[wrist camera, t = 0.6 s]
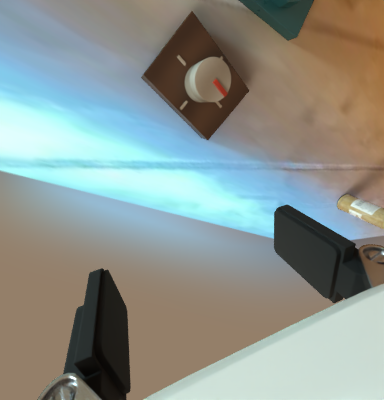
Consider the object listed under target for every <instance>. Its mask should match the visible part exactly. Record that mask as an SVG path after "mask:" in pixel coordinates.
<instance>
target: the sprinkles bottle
mask: <svg viewBox="0 0 384 400" xmlns="http://www.w3.org/2000/svg"><path fill="white" fill-rule="evenodd" d="M337 207H338V209H340V210H343V211H345V212H347V213H349V214H351V215H353V216H355V217H358V218H360V219H362V220H364V221H366V222H368V223H371V224H373V225H375V226H378V227H380V228H382V229H384V208H382V207H380V206H377V205H374V204H372V203H369V202H367V201H364V200H361V199H358V198H355V197H352V196H351V195H349V194H346V195H344V196H342V197H341V198H340V199H339V201H338V204H337Z"/></svg>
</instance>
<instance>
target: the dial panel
mask: <svg viewBox="0 0 384 400" xmlns="http://www.w3.org/2000/svg"><path fill="white" fill-rule="evenodd" d="M208 57H218V58H220V59H222V60H223V61H224V62H225V63H226V64H227V66H228V68H229V70H230V73H231V85H230V88H229V91H228V94H227V95H226V96H225V97H224V98H223V99H221V100H219V101H217V102H202V103H201V102H196V101H194V100H192V99H191V98H190V97H189V95H188V94H187V92H186V89H185V77H186V74H187V72H188V70H189V69H190V68H191V67H192V66H193V65H195V64H196V63H198V62H200V61H202V60H204V59H206V58H208ZM141 78H142V79H143V80H144V81H145V82H146V83H147V84H148V85H149V86H150V87H151V88H152V89H153V90H154V91H155V92H156V93H157V94H158V95H159V96H160V97H161V98H162V99H163V100H164V101H165V102H166V103H167V104H168V105H169V106H170V107H171V108H172V109H173V110H174V111H175V112H176V113H177V114H178V115H179V116H180V117H181V118H182V119H183V120H184V121H185V122H186V123H187V124H188V125H189V126H190V127H191V128H192V129H193V130H194V131H195V132H196V133H197V134H198V135H199V136H200V137H201V138H203V139H206V140H208V139H209V138H210V137H211V136H212V135H213V133H214V132H215V131H216V130H217V129H218V128H219V126H220V125H221V124H222V123H223V122H224V120H225V119H226V118H227V117H228V116H229V114H230V113H231V112H232V111H233V110H234V108H235V107H236V106H237V105H238V104H239V102H240V101H241V100H242V99H243V98H244V96H245V95H246V94H247V93H248V92H249V89H248V88H247V87H246V85H245V84H244V82H243V81H242V80H241V78H240V77H239V75H238V74H237V73H236V71H235V70H234V69H233V67H232V66H231V64H230V63H229V62H228V60H227V59H226V57H225V56H224V55H223V53H222V52H221V50H220V49H219V48H218V46H217V45H216V43H215V42H214V41H213V39H212V38H211V36H210V35H209V34H208V32H207V31H206V30H205V28H204V27H203V25H202V24H201V23H200V21H199V20H198V18H197V17H196V16H195V14H194V13H193V11H191V13H190V14H189V15H188V17H187V18H186V19H185V20H184V22H183V23H182V24H181V26H180V27H179V28H178V30H177V31H176V32H175V34H174V35H173V36H172V38H171V39H170V40H169V41H168V43H167V44H166V45H165V47H164V48H163V49H162V51H161V52H160V53H159V55H158V56H157V57H156V59H155V60H154V61H153V63H152V64H151V65H150V66H149V68H148V69H147V70H146V72H145V73H144V74H143V76H142V77H141Z"/></svg>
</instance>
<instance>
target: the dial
mask: <svg viewBox="0 0 384 400" xmlns="http://www.w3.org/2000/svg"><path fill="white" fill-rule="evenodd" d="M230 85H231V73H230V70H229V68H228V66H227V64H226V63H225V62H224V61H223V60H222V59H220V58H218V57H208V58H206V59H204V60H202V61H200V62H198V63H196V64H195V65H193V66H192V67H191V68H190V69H189V70H188V72H187V74H186V77H185V89H186V92H187V94H188V95H189V97H190V98H191V99H192V100H194V101H196V102H201V103H202V102H217V101H219V100H221V99H223V98H224V97H225V96H226V95H227V94H228V91H229V88H230Z"/></svg>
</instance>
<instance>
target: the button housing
mask: <svg viewBox="0 0 384 400" xmlns="http://www.w3.org/2000/svg"><path fill="white" fill-rule="evenodd" d="M239 1H240V2H242V3H243V4H244V5H245V6H246V7H248V8H249V9H250V10H251V11H253V12H254V13H255V14H256V15H257V16H259V17H260V18H261V19H262V20H264V21H265V22H266V23H267V24H268V25H270V26H271V27H272V28H273V29H275V30H276V31H277V32H278V33H279V34H281V35H282V36H283V37H284V38H286V39H287V40H291V39H293V38H296V37H297V36H298V34H299V31H300V29H301V27H302V25H303V23H304V21H305V18H306V16H307V14H308V12H309V10H310V8H311V5H312V3H313V1H314V0H239Z"/></svg>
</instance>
